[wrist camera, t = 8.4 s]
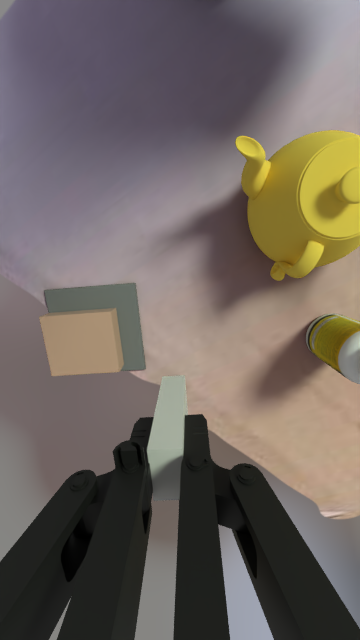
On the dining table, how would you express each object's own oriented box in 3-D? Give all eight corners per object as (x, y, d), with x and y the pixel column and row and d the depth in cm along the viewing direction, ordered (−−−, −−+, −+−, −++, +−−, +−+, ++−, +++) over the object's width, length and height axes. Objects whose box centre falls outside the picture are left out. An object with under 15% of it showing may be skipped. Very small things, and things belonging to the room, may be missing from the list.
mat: (45, 290, 33) (44, 290, 33) (135, 282, 33) (134, 283, 32) (62, 373, 36) (61, 374, 36) (145, 368, 35) (145, 369, 35)
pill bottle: (300, 355, 35) (352, 398, 24) (308, 311, 33) (366, 336, 22) (346, 357, 34) (418, 402, 24) (355, 313, 33) (437, 339, 22)
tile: (116, 307, 33) (49, 312, 34) (110, 311, 31) (39, 316, 31) (124, 364, 35) (61, 368, 35) (119, 371, 32) (51, 376, 33)
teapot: (193, 250, 32) (197, 245, 20) (240, 122, 28) (275, 32, 17) (336, 304, 33) (414, 327, 22) (397, 187, 29) (527, 143, 18)
